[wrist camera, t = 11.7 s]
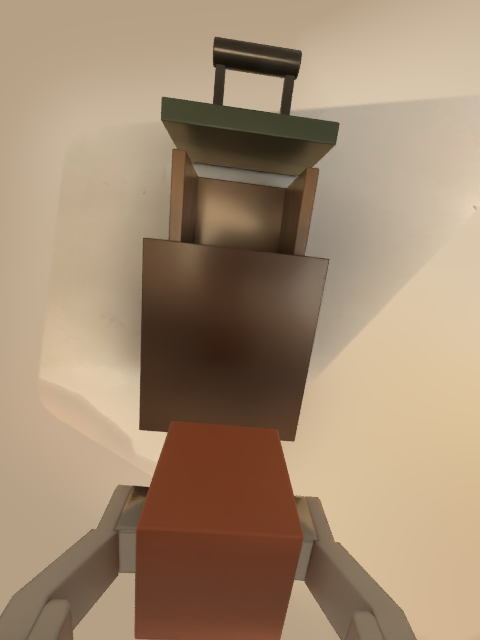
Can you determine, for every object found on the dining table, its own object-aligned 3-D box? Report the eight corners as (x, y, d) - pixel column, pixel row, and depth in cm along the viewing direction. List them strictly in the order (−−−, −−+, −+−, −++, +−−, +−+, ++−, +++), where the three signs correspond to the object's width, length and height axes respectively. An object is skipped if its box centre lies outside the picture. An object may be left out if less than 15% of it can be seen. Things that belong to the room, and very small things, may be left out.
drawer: (187, 78, 22) (164, -11, 14) (315, 98, 22) (358, 22, 15) (176, 291, 26) (154, 310, 19) (283, 303, 27) (303, 325, 19)
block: (171, 419, 11) (134, 528, 7) (277, 428, 11) (305, 537, 7) (167, 504, 12) (133, 640, 8) (263, 509, 13) (280, 644, 8)
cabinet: (174, 240, 26) (142, 237, 17) (295, 254, 26) (329, 259, 17) (168, 371, 29) (139, 430, 20) (274, 381, 30) (294, 441, 21)
